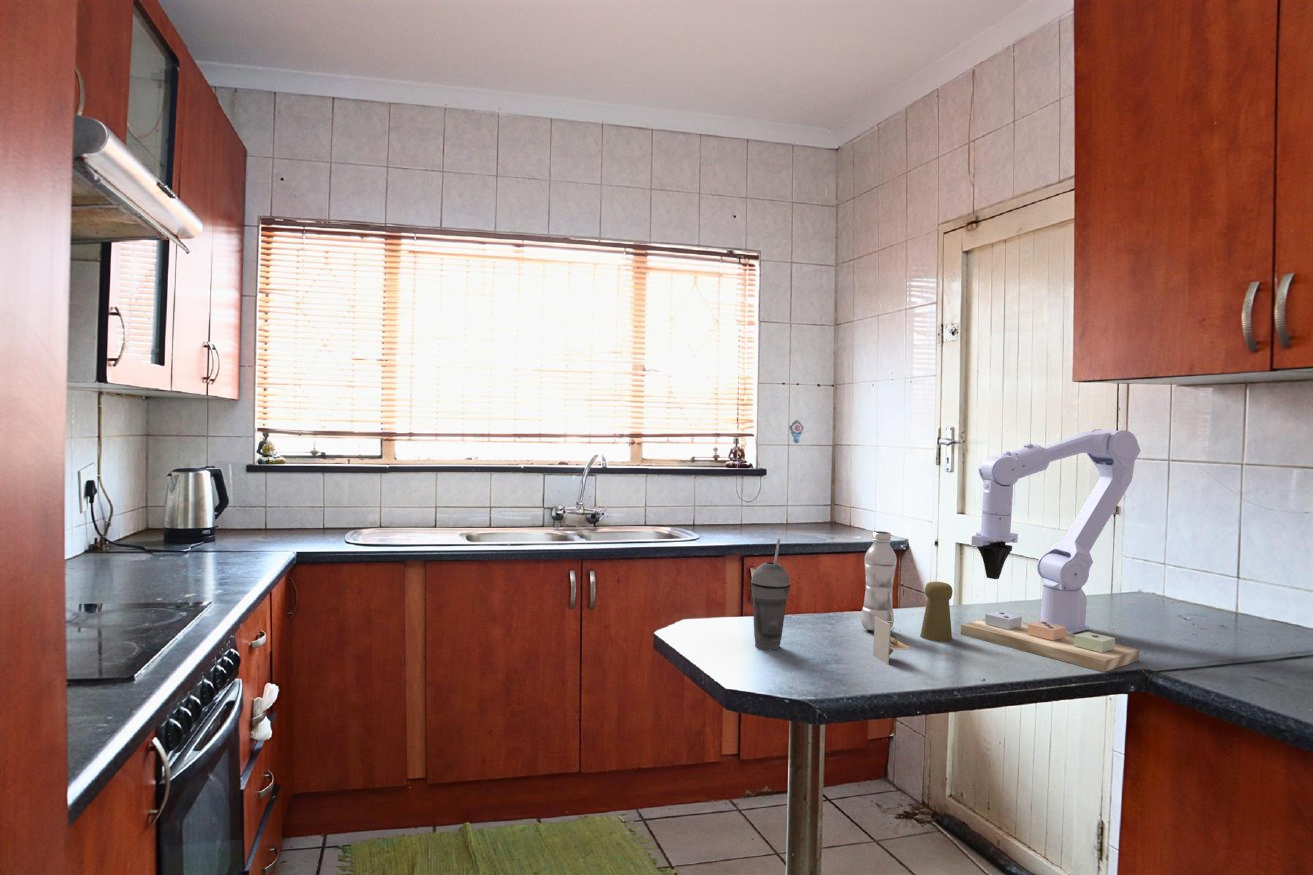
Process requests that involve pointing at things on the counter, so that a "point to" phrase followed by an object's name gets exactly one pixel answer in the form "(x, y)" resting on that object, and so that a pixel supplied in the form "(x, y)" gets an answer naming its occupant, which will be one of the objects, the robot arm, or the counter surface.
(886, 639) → the architectural model
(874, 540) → the plastic bottle
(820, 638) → the counter surface
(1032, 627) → the tile three
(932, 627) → the cork
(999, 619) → the tile two
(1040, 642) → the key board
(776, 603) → the beverage cup
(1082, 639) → the tile one
